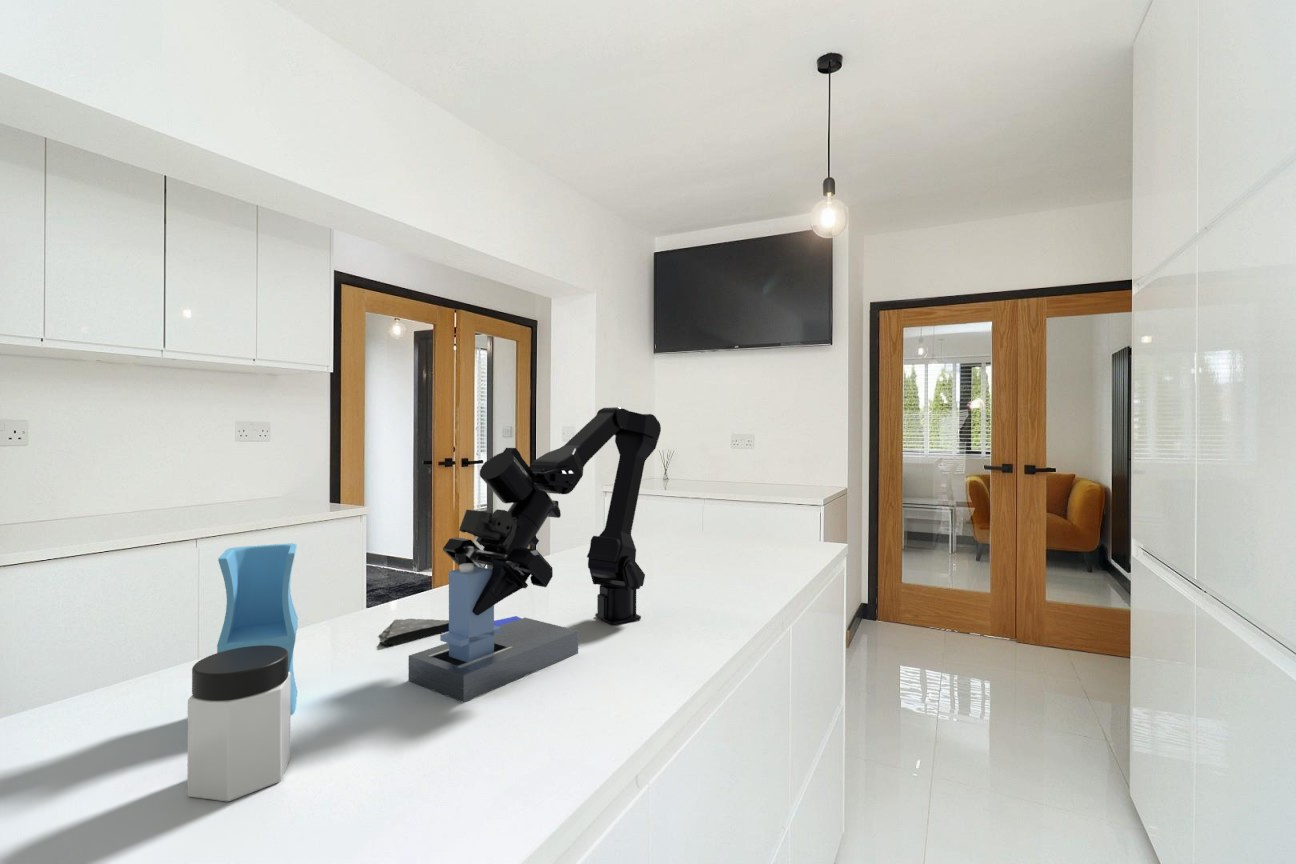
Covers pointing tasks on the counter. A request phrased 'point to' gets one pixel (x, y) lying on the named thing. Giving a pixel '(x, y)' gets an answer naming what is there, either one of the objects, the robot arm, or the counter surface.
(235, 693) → the jar
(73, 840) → the counter surface
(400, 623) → the stone
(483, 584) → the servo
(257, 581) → the vase
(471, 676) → the plate
